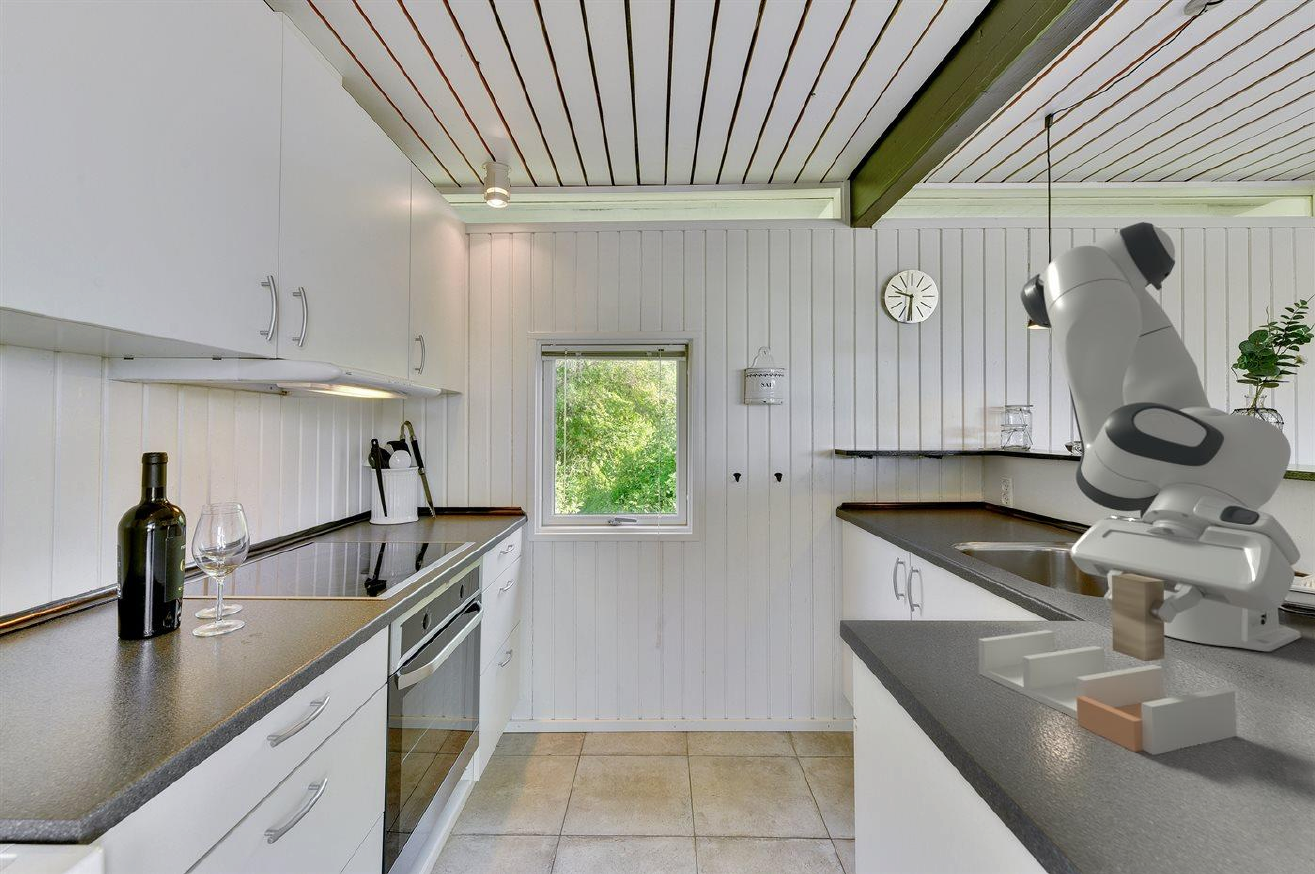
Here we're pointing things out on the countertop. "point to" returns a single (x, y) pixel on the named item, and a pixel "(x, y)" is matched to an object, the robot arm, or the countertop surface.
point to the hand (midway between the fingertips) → (1134, 611)
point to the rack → (1107, 694)
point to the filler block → (1137, 617)
